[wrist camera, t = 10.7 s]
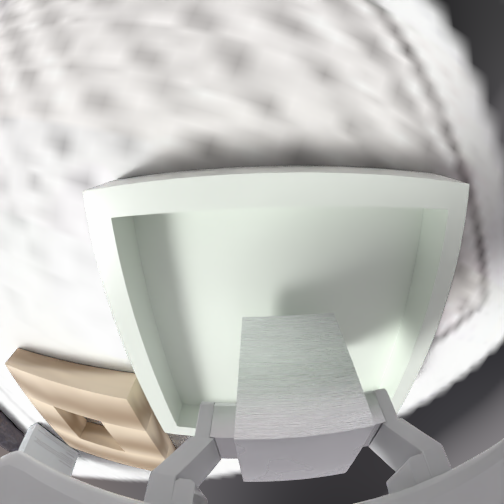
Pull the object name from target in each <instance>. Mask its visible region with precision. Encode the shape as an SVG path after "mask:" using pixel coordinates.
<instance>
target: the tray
mask: <svg viewBox="0 0 504 504" xmlns="http://www.w3.org/2000/svg"><path fill="white" fill-rule="evenodd" d="M468 195H469V184H468V183H465V182H461V181H458V180H455V179H451V178H448V177H444V176H441V175H437V174H433V173H425V172H416V171H406V170H395V169H382V168H366V167H345V166H254V167H232V168H216V169H203V170H191V171H180V172H171V173H162V174H153V175H145V176H138V177H131V178H124V179H117V180H113V181H110V182H108V183H105V184H102V185H99V186H96V187H93V188H90V189H88V190H85V191H83V197H84V204H85V210H86V215H87V221H88V226H89V231H90V235H91V240H92V245H93V249H94V253H95V257H96V261H97V265H98V269H99V273H100V276H101V280H102V283H103V287H104V290H105V294H106V297H107V300H108V303H109V306H110V309H111V312H112V315H113V318H114V321H115V324H116V327H117V330H118V332H119V335H120V338H121V340H122V343H123V346H124V348H125V351H126V353H127V356H128V358H129V360H130V363H131V365H132V368H133V370H134V372H135V374H136V377H137V379H138V381H139V383H140V385H141V388H142V390H143V392H144V394H145V396H146V398H147V400H148V402H149V404H150V406H151V408H152V410H153V412H154V414H155V416H156V418H157V419H158V421H159V423H160V425H161V427H162V429H163V430H164V432H165V433H170V434H178V435H187V436H195V430H196V425H197V419H198V414H199V408H200V404H201V402H202V401H204V402H223V403H236V402H237V387H238V372H239V358H240V343H241V329H242V317H267V316H291V315H309V314H324V313H333V314H334V316H335V318H336V321H337V323H338V326H339V328H340V331H341V333H342V336H343V338H344V341H345V344H346V346H347V349H348V351H349V354H350V357H351V359H352V362H353V364H354V367H355V370H356V373H357V375H358V378H359V381H360V383H361V386H362V389H363V392H366V391H371V390H372V391H373V390H378V389H382V388H385V389H386V390H387V393H388V395H389V397H390V400H391V402H392V404H393V407H394V409H395V411H396V414H397V413H398V411H399V410H400V408H401V406H402V404H403V402H404V401H405V399H406V397H407V395H408V393H409V391H410V389H411V387H412V385H413V383H414V381H415V379H416V377H417V375H418V373H419V371H420V369H421V366H422V364H423V362H424V360H425V357H426V355H427V353H428V350H429V348H430V346H431V343H432V341H433V338H434V335H435V333H436V330H437V327H438V325H439V322H440V319H441V316H442V313H443V310H444V307H445V304H446V301H447V298H448V294H449V291H450V288H451V284H452V280H453V277H454V273H455V269H456V265H457V260H458V256H459V251H460V247H461V242H462V236H463V231H464V225H465V218H466V211H467V204H468Z"/></svg>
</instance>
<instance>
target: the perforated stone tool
mask: <svg viewBox="0 0 504 504" xmlns="http://www.w3.org/2000/svg"><path fill="white" fill-rule="evenodd" d="M24 437H25V435H24V434H23V433H22V432H21V431H20V430H18V429H17V428H16V427H15V425H14V424H13V423H12V422H11V421H10V420H9V419H8V418H7V417H6V416H5V415H4V414H3V413H2V412H1V411H0V446H1V447H2V448H4V449H6V450H7V451H9V452H14V451H18V450H19V448H20V445H21V443H22V441H23V439H24Z"/></svg>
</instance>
